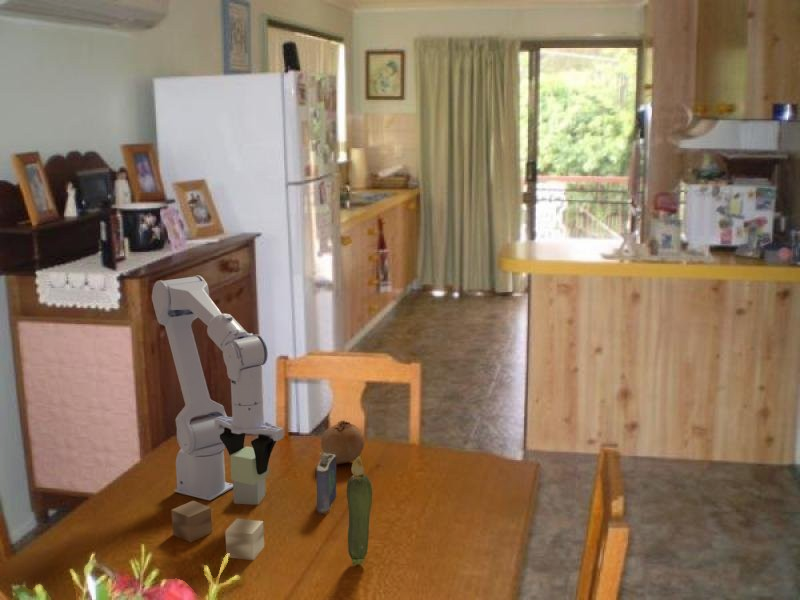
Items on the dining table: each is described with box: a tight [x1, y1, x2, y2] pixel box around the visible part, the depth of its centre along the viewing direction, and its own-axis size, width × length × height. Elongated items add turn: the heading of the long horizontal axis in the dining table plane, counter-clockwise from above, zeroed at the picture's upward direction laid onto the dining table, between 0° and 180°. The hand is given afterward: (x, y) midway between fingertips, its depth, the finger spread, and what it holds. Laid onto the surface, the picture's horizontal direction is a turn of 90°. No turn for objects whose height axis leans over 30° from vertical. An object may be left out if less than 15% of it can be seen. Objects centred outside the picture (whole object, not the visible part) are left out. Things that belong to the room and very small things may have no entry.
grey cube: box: [232, 478, 266, 506], centre depth 178 cm, size 5×5×5 cm
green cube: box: [229, 445, 270, 485], centre depth 167 cm, size 5×5×5 cm
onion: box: [320, 420, 365, 465], centre depth 195 cm, size 10×9×10 cm
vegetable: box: [346, 455, 373, 567], centre depth 151 cm, size 4×4×20 cm
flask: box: [316, 451, 337, 515], centre depth 175 cm, size 9×3×11 cm, turn 172°
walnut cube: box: [170, 500, 213, 544], centre depth 163 cm, size 5×5×5 cm
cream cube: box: [224, 518, 265, 561], centre depth 156 cm, size 5×5×5 cm
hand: (250, 469), depth 168 cm, fingers closed on green cube, 5 cm apart
